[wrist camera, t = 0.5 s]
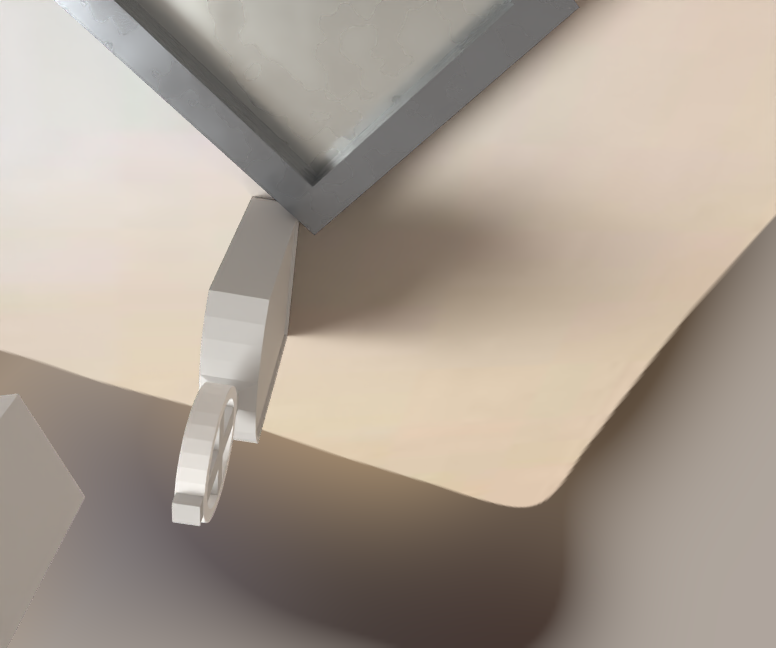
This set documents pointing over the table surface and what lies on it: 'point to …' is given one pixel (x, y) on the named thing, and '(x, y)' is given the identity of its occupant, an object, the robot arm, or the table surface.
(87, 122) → the table surface
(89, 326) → the table surface
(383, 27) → the square metal tray
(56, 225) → the table surface
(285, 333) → the gravestone
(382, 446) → the table surface
